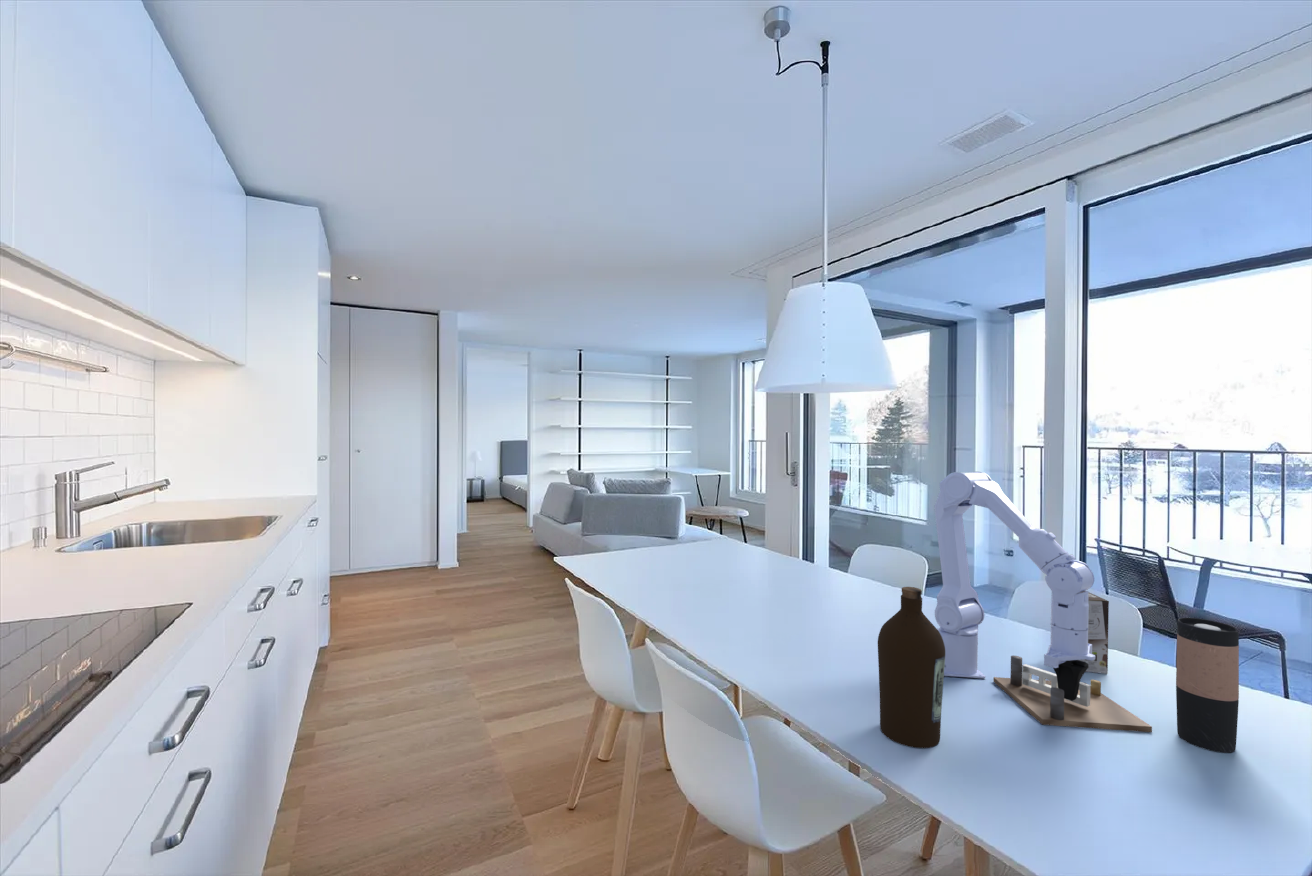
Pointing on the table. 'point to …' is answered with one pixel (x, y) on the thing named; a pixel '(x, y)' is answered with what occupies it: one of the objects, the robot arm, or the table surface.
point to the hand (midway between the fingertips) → (1068, 698)
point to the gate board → (1069, 705)
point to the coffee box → (1098, 633)
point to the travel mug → (1207, 684)
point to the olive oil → (911, 675)
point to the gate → (1052, 683)
